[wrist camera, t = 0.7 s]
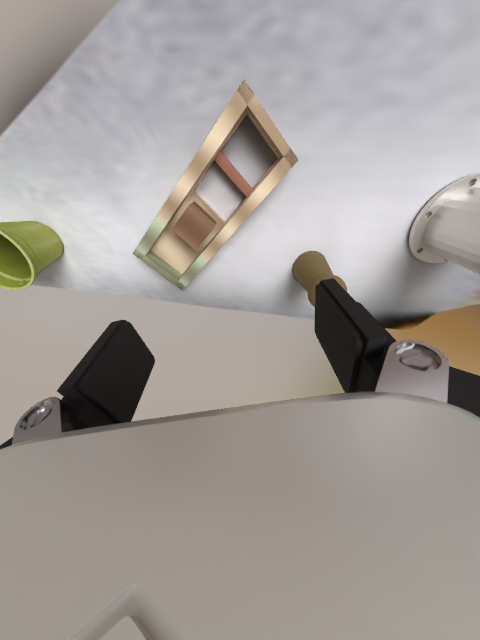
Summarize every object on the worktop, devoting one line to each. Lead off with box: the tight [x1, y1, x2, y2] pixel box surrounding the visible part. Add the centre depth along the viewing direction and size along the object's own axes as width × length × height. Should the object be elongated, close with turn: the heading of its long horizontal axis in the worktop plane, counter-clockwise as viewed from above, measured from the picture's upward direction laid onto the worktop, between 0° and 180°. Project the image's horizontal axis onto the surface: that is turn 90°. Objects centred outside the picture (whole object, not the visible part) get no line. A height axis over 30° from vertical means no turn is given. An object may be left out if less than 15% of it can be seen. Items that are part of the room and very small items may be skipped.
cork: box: [292, 251, 347, 307], centre depth 32 cm, size 6×6×11 cm
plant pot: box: [0, 221, 63, 290], centre depth 30 cm, size 9×9×9 cm
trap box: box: [133, 80, 298, 290], centre depth 29 cm, size 24×9×4 cm, turn 136°
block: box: [172, 201, 217, 250], centre depth 28 cm, size 4×4×4 cm
